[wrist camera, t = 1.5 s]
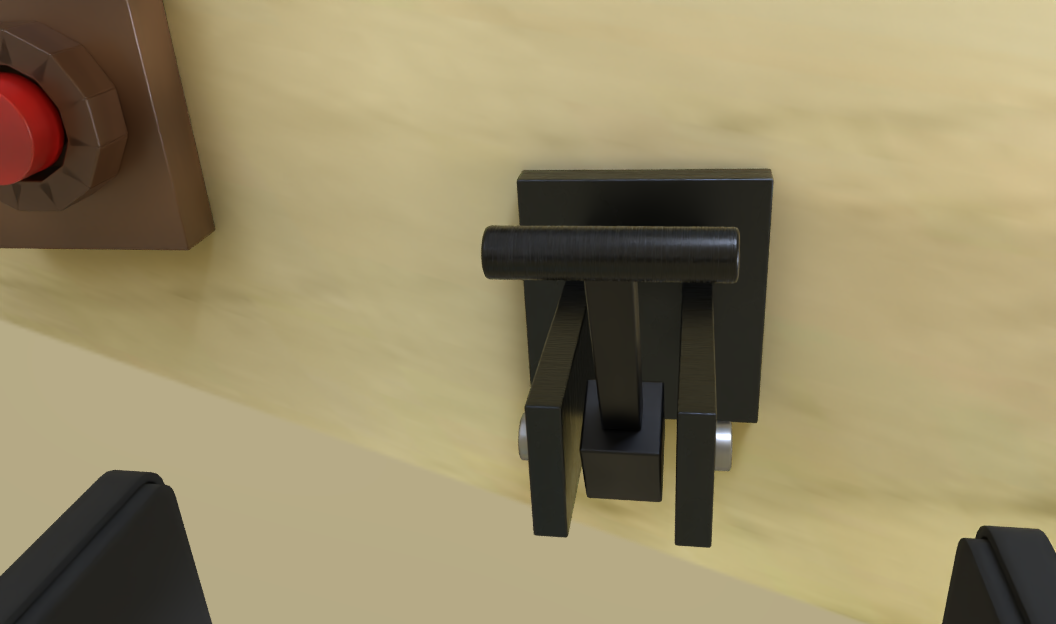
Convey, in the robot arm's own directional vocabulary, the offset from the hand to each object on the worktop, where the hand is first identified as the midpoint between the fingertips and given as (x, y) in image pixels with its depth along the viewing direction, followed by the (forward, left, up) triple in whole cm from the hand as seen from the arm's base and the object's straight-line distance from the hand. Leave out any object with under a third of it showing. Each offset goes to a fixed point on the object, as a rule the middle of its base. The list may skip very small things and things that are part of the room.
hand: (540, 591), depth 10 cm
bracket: (+7, 0, -23) cm, 24 cm away
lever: (+3, 0, -13) cm, 13 cm away
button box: (-1, -22, -23) cm, 32 cm away
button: (-1, -22, -20) cm, 30 cm away
